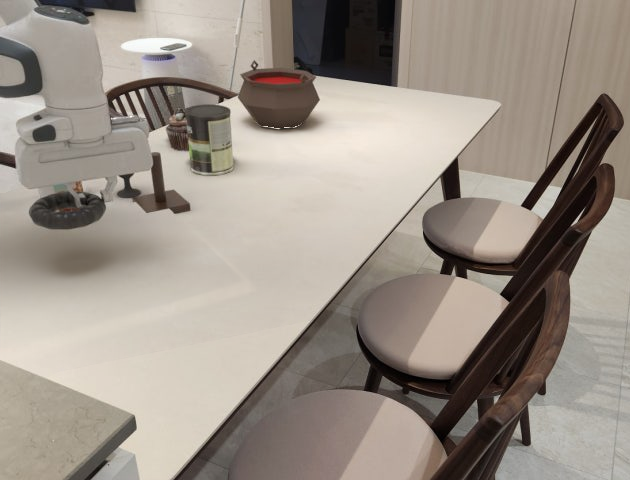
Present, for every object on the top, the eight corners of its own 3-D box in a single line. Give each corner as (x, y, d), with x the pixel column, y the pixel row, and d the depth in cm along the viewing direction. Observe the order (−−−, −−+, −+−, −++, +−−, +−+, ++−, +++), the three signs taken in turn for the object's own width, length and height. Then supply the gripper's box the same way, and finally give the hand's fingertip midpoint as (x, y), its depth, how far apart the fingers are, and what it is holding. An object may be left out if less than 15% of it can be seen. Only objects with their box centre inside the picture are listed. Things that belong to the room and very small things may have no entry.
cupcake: (197, 138, 173) (193, 101, 168) (211, 148, 166) (207, 110, 161) (162, 143, 168) (157, 105, 163) (175, 153, 161) (170, 114, 156)
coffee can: (189, 176, 148) (183, 116, 141) (191, 161, 157) (185, 104, 150) (234, 175, 150) (230, 115, 143) (233, 160, 159) (230, 103, 152)
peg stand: (147, 219, 127) (139, 164, 121) (132, 203, 133) (124, 150, 127) (190, 210, 131) (184, 156, 126) (174, 195, 138) (168, 144, 132)
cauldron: (336, 124, 190) (337, 67, 182) (275, 139, 175) (273, 79, 166) (283, 107, 204) (281, 54, 196) (222, 121, 188) (217, 63, 180)
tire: (39, 238, 97) (36, 221, 96) (25, 212, 105) (21, 196, 103) (114, 223, 103) (112, 207, 102) (95, 199, 111) (93, 184, 109)
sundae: (106, 193, 137) (94, 124, 130) (134, 185, 142) (124, 118, 134) (122, 202, 134) (111, 132, 126) (150, 193, 138) (141, 125, 131)
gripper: (140, 108, 106) (150, 186, 113) (3, 123, 95) (23, 208, 102) (153, 118, 102) (162, 198, 109) (11, 134, 91) (32, 222, 98)
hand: (94, 203), depth 105 cm, fingers closed on tire, 3 cm apart
